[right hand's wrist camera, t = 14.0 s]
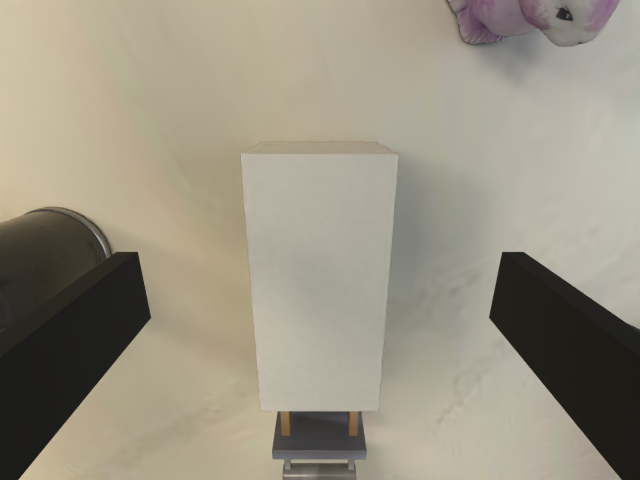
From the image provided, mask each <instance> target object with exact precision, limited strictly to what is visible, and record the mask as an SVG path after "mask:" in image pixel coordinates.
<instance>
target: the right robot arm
mask: <svg viewBox="0 0 640 480" xmlns="http://www.w3.org/2000/svg"><path fill="white" fill-rule="evenodd" d="M150 318H151V316H150V311H149V306H148V301H147V296H146V291H145V286H144V281H143V276H142V271H141V266H140V261H139V256H138V252H116V253H114V254H113V255H111V256H110V257H109V258H107V259H106V260H104V261H103V262H101V263H100V264H98V265H97V266H96V267H94V268H93V269H91V270H90V271H88V272H87V273H85V274H84V275H83V276H81V277H80V278H78V279H77V280H75V281H74V282H72V283H71V284H69V285H68V286H67V287H65V288H64V289H62V290H61V291H59V292H58V293H56V294H55V295H54V296H52V297H51V298H49V299H48V300H46V301H45V302H43V303H42V304H41V305H39V306H38V307H36V308H35V309H33V310H32V311H30V312H29V313H28V314H26V315H25V316H23V317H22V318H20V319H19V320H17V321H16V322H15V323H13V324H12V325H10V326H9V327H7V328H5V329H3V330H1V331H0V480H18V479H19V478H20V477H21V476H22V475H23V473H24V472H25V471H26V470H27V468H28V467H29V466H30V465H31V464H32V462H33V461H34V460H35V459H36V457H37V456H38V455H39V454H40V453H41V451H42V450H43V449H44V448H45V446H46V445H47V444H48V443H49V442H50V440H51V439H52V438H53V437H54V435H55V434H56V433H57V432H58V431H59V429H60V428H61V427H62V426H63V424H64V423H65V422H66V421H67V420H68V418H69V417H70V416H71V415H72V413H73V412H74V411H75V410H76V409H77V407H78V406H79V405H80V404H81V402H82V401H83V400H84V399H85V398H86V396H87V395H88V394H89V393H90V391H91V390H92V389H93V388H94V387H95V385H96V384H97V383H98V382H99V380H100V379H101V378H102V377H103V376H104V374H105V373H106V372H107V371H108V369H109V368H110V367H111V366H112V365H113V363H114V362H115V361H116V360H117V358H118V357H119V356H120V355H121V354H122V352H123V351H124V350H125V349H126V347H127V346H128V345H129V344H130V343H131V341H132V340H133V339H134V338H135V337H136V335H137V334H138V333H139V332H140V330H141V329H142V328H143V327H144V326H145V324H146V323H147V322H148V321H149V319H150ZM489 318H490V319H491V321H492V322H493V323H494V324H495V326H496V327H497V328H498V329H499V330H500V332H501V333H502V334H503V335H504V337H505V338H506V339H507V340H508V341H509V343H510V344H511V345H512V346H513V347H514V349H515V350H516V351H517V352H518V354H519V355H520V356H521V357H522V358H523V360H524V361H525V362H526V363H527V365H528V366H529V367H530V368H531V369H532V371H533V372H534V373H535V374H536V376H537V377H538V378H539V379H540V380H541V382H542V383H543V384H544V385H545V387H546V388H547V389H548V390H549V391H550V393H551V394H552V395H553V396H554V398H555V399H556V400H557V401H558V402H559V404H560V405H561V406H562V407H563V409H564V410H565V411H566V412H567V413H568V415H569V416H570V417H571V418H572V420H573V421H574V422H575V423H576V424H577V426H578V427H579V428H580V429H581V431H582V432H583V433H584V434H585V435H586V437H587V438H588V439H589V440H590V442H591V443H592V444H593V445H594V446H595V448H596V449H597V450H598V451H599V453H600V454H601V455H602V456H603V457H604V459H605V460H606V461H607V462H608V464H609V465H610V466H611V467H612V468H613V470H614V471H615V472H616V473H617V475H618V476H619V477H620V478H621V479H622V480H640V329H638V328H636V327H634V326H631V325H629V324H627V323H625V322H624V321H623V320H621V319H620V318H618V317H617V316H615V315H614V314H612V313H611V312H610V311H608V310H607V309H605V308H604V307H602V306H601V305H599V304H598V303H597V302H595V301H594V300H592V299H591V298H589V297H588V296H586V295H585V294H584V293H582V292H581V291H579V290H578V289H576V288H575V287H573V286H572V285H570V284H569V283H568V282H566V281H565V280H563V279H562V278H560V277H559V276H557V275H556V274H555V273H553V272H552V271H550V270H549V269H547V268H546V267H544V266H543V265H542V264H540V263H539V262H537V261H536V260H534V259H533V258H531V257H530V256H529V255H527V254H526V253H524V252H502V256H501V261H500V266H499V271H498V276H497V281H496V286H495V291H494V296H493V301H492V306H491V311H490V316H489Z"/></svg>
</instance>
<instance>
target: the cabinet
mask: <svg viewBox="0 0 640 480" xmlns="http://www.w3.org/2000/svg"><path fill="white" fill-rule="evenodd" d="M240 158H241V171H242V183H243V196H244V209H245V221H246V234H247V247H248V259H249V272H250V285H251V298H252V310H253V323H254V336H255V348H256V361H257V374H258V387H259V399H260V411H378V410H379V397H380V385H381V372H382V360H383V347H384V335H385V322H386V310H387V297H388V285H389V272H390V260H391V247H392V235H393V222H394V210H395V197H396V185H397V172H398V160H399V154H397V153H396V152H393V151H391V150H390V149H388V148H386V147H384V146H382V145H381V144H379V143H377V142H262V143H260V144H258V145H257V146H255V147H253V148H251V149H249V150H247V151H246V152H243V153H241V154H240Z"/></svg>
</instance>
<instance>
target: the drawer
mask: <svg viewBox="0 0 640 480" xmlns="http://www.w3.org/2000/svg"><path fill="white" fill-rule="evenodd" d="M366 452H367V450H366V443H365V435H364V428H363V421H362V414H361V411H278V413H277V420H276V427H275V434H274V441H273V448H272V455H273V459H284V460H285V463H284V466H283V480H356V468H355V463H354V459H366ZM291 459H348V463H291Z"/></svg>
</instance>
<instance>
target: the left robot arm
mask: <svg viewBox="0 0 640 480" xmlns="http://www.w3.org/2000/svg"><path fill="white" fill-rule="evenodd" d="M110 256H111V252H110V248H109V246H108V243H107V241H106V240H105V238H104V236H103V235H102V233H101V232H100V231H99V230H98V229H97V228H96V227H95V226H94V225H93V224H92V223H91V222H90V221H88V220H87V219H86V218H84V217H83V216H81V215H79V214H77V213H75V212H72V211H70V210H67V209H63V208H57V207H46V208H40V209H36V210H33V211H31V212H28V213H26V214H24V215H23V216H20V217H17V218H14V219H11V220H8V221H5V222H2V223H0V331H1V330H3V329H5V328H7V327H9V326H10V325H12V324H13V323H15V322H16V321H17V320H19V319H20V318H22V317H23V316H25V315H26V314H28V313H29V312H30V311H32V310H33V309H35V308H36V307H38V306H39V305H41V304H42V303H43V302H45V301H46V300H48V299H49V298H51V297H52V296H54V295H55V294H56V293H58V292H59V291H61V290H62V289H64V288H65V287H67V286H68V285H69V284H71V283H72V282H74V281H75V280H77V279H78V278H80V277H81V276H83V275H84V274H85V273H87V272H88V271H90V270H91V269H93V268H94V267H96V266H97V265H98V264H100V263H101V262H103V261H104V260H106V259H107V258H109V257H110Z"/></svg>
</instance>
